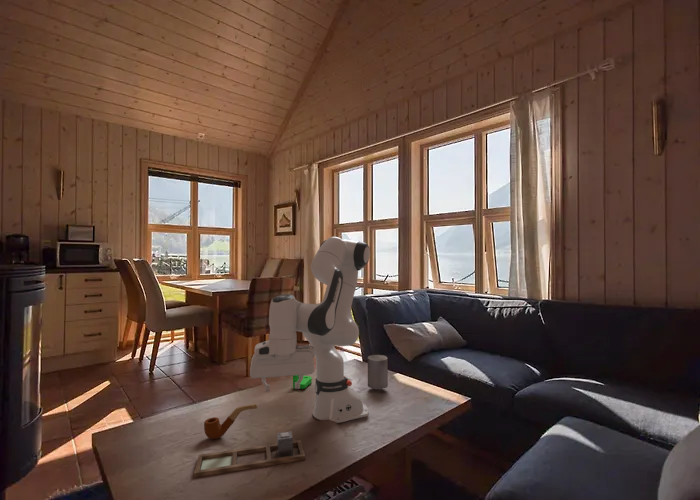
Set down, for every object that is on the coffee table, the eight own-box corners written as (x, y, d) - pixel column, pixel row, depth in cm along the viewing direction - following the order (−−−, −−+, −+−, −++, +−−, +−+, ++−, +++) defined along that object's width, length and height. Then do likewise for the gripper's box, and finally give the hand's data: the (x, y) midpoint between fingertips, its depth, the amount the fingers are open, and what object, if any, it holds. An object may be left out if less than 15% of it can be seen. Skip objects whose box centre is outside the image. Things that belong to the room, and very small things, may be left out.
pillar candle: (368, 382, 180) (368, 351, 180) (388, 382, 179) (388, 352, 179) (366, 389, 170) (366, 357, 170) (387, 390, 169) (387, 357, 169)
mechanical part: (304, 388, 172) (304, 371, 172) (292, 387, 174) (292, 371, 174) (313, 380, 184) (313, 364, 184) (302, 379, 185) (302, 363, 185)
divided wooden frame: (300, 443, 121) (300, 440, 121) (305, 459, 112) (305, 455, 112) (198, 458, 113) (198, 455, 113) (194, 477, 103) (194, 473, 103)
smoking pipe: (209, 446, 122) (207, 439, 127) (261, 419, 130) (258, 413, 135) (202, 426, 121) (201, 420, 127) (255, 400, 129) (252, 396, 134)
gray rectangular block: (291, 449, 118) (291, 430, 118) (292, 457, 114) (292, 436, 114) (277, 451, 117) (277, 432, 117) (278, 459, 112) (278, 438, 112)
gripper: (313, 342, 122) (313, 383, 121) (250, 345, 117) (250, 388, 116) (316, 346, 116) (316, 390, 115) (250, 350, 111) (249, 396, 110)
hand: (282, 389), depth 116 cm, fingers open, 8 cm apart
